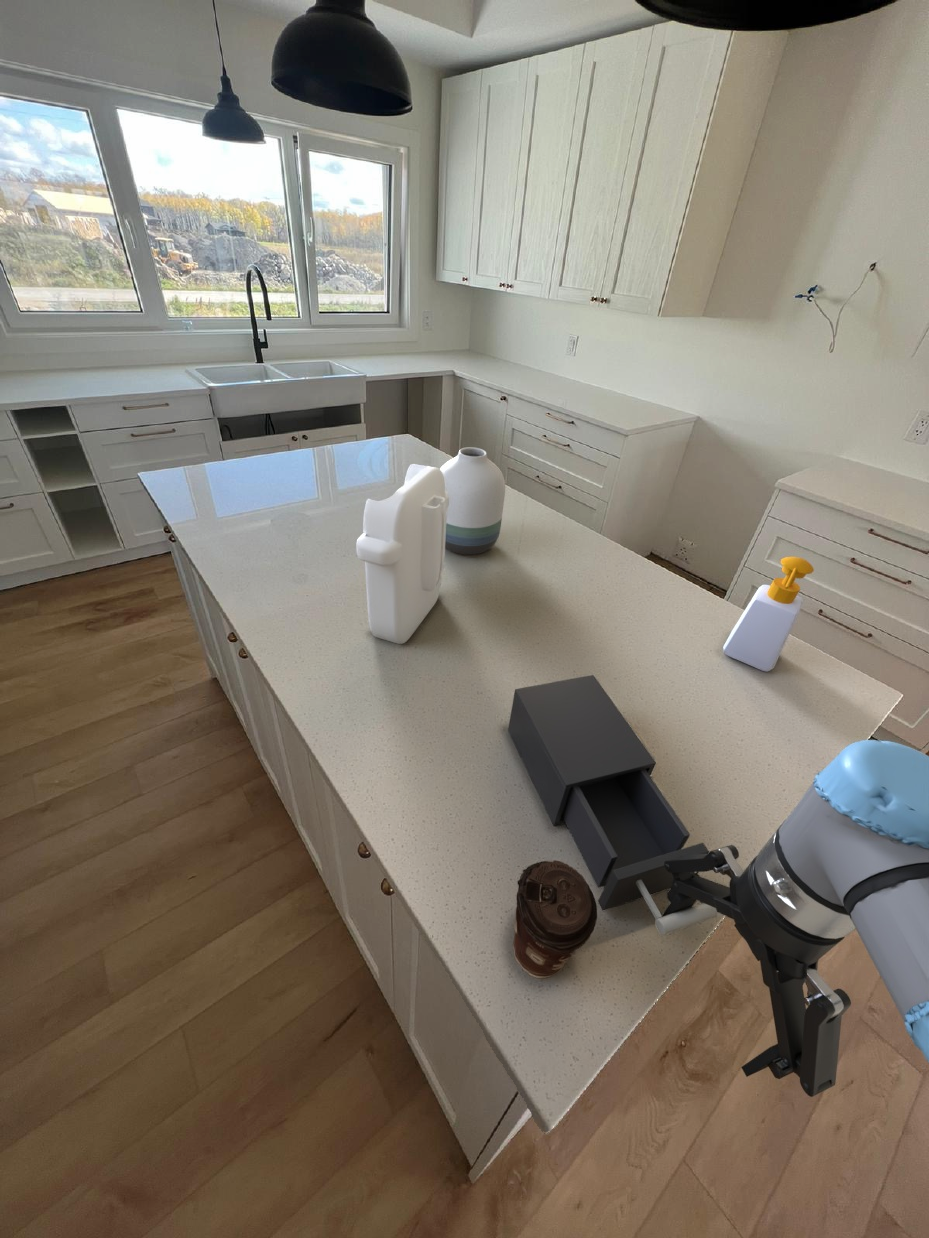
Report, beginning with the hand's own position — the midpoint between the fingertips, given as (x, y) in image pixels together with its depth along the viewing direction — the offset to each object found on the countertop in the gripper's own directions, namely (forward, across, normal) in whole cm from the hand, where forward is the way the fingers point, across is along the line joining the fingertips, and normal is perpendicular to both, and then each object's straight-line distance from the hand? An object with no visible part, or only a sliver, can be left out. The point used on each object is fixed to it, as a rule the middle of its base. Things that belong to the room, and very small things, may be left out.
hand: (708, 986), depth 55 cm
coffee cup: (+4, -10, -15) cm, 18 cm away
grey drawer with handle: (+2, -16, 0) cm, 16 cm away
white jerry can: (+3, -74, -15) cm, 75 cm away
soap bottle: (+3, -46, +47) cm, 66 cm away
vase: (+3, -101, +5) cm, 101 cm away
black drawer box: (+3, -32, 0) cm, 32 cm away
